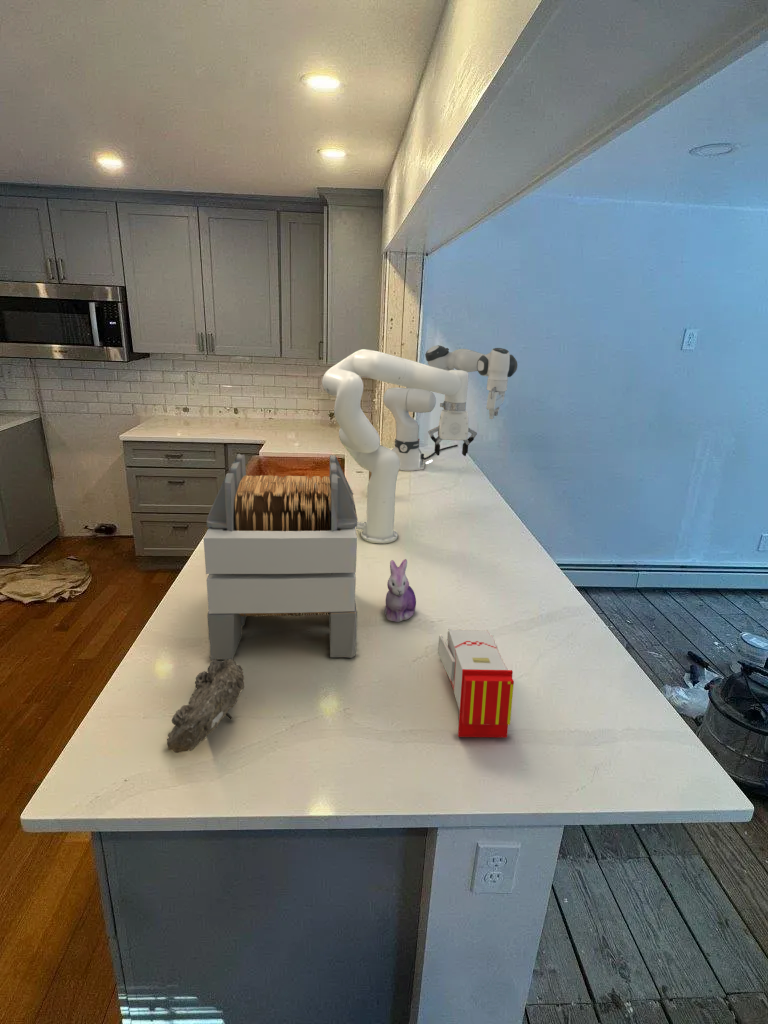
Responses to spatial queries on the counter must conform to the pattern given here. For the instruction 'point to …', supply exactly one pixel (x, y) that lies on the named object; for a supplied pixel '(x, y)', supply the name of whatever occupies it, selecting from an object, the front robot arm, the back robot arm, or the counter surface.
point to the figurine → (399, 594)
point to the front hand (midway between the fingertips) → (450, 454)
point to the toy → (478, 682)
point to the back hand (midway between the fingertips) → (493, 417)
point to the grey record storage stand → (281, 554)
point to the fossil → (206, 705)
